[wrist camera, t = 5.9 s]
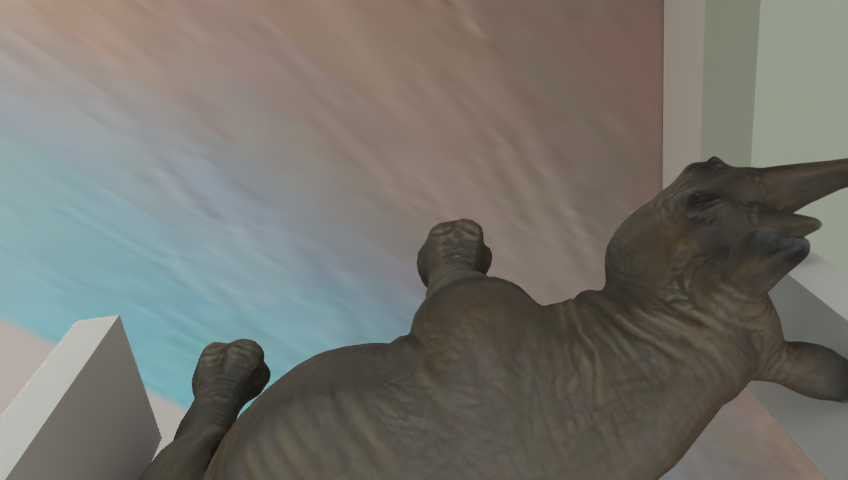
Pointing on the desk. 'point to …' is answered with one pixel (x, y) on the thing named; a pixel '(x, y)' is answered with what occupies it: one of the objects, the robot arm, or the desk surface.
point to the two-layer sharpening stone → (760, 94)
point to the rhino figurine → (538, 355)
